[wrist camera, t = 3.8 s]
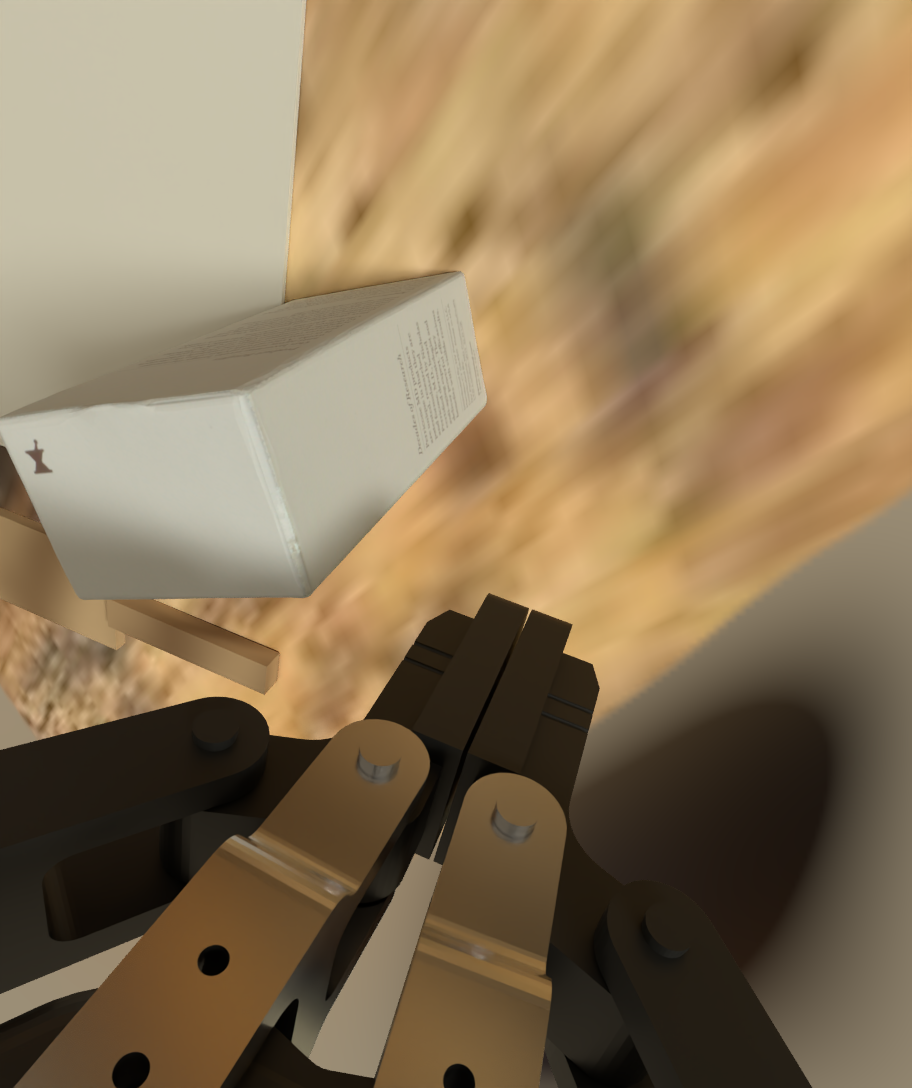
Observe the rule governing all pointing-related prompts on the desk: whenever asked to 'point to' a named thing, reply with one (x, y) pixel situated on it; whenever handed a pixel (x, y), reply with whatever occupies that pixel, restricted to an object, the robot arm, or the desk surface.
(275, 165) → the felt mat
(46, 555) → the wooden turner
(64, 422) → the skincare box
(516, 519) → the desk surface
